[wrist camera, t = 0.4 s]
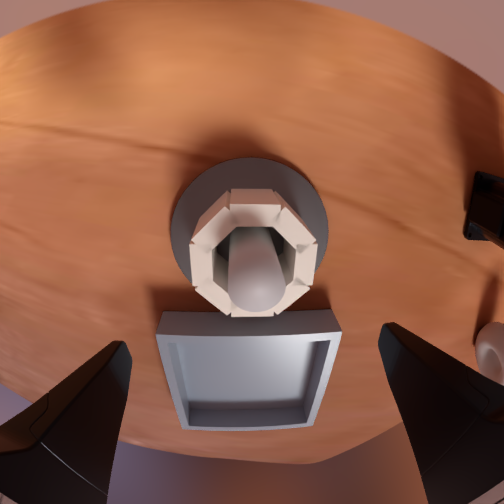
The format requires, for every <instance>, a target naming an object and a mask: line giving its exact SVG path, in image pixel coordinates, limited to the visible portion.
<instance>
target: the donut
mask: <svg viewBox="0 0 504 504" xmlns="http://www.w3.org/2000/svg"><path fill="white" fill-rule="evenodd" d="M475 354H476V360H477V364H478V367H479V370H480V372H481V374H482V375H483V376H485V377H487V378H489V379H491V380H493V381H495V382H497V383H499V384H501V385H503V386H504V324H502V323H500V322H492V323H488V324H486V325H485V326H484V327H483V328H482V329H481V330H480V332H479V333H478V336H477V339H476V344H475Z"/></svg>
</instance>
